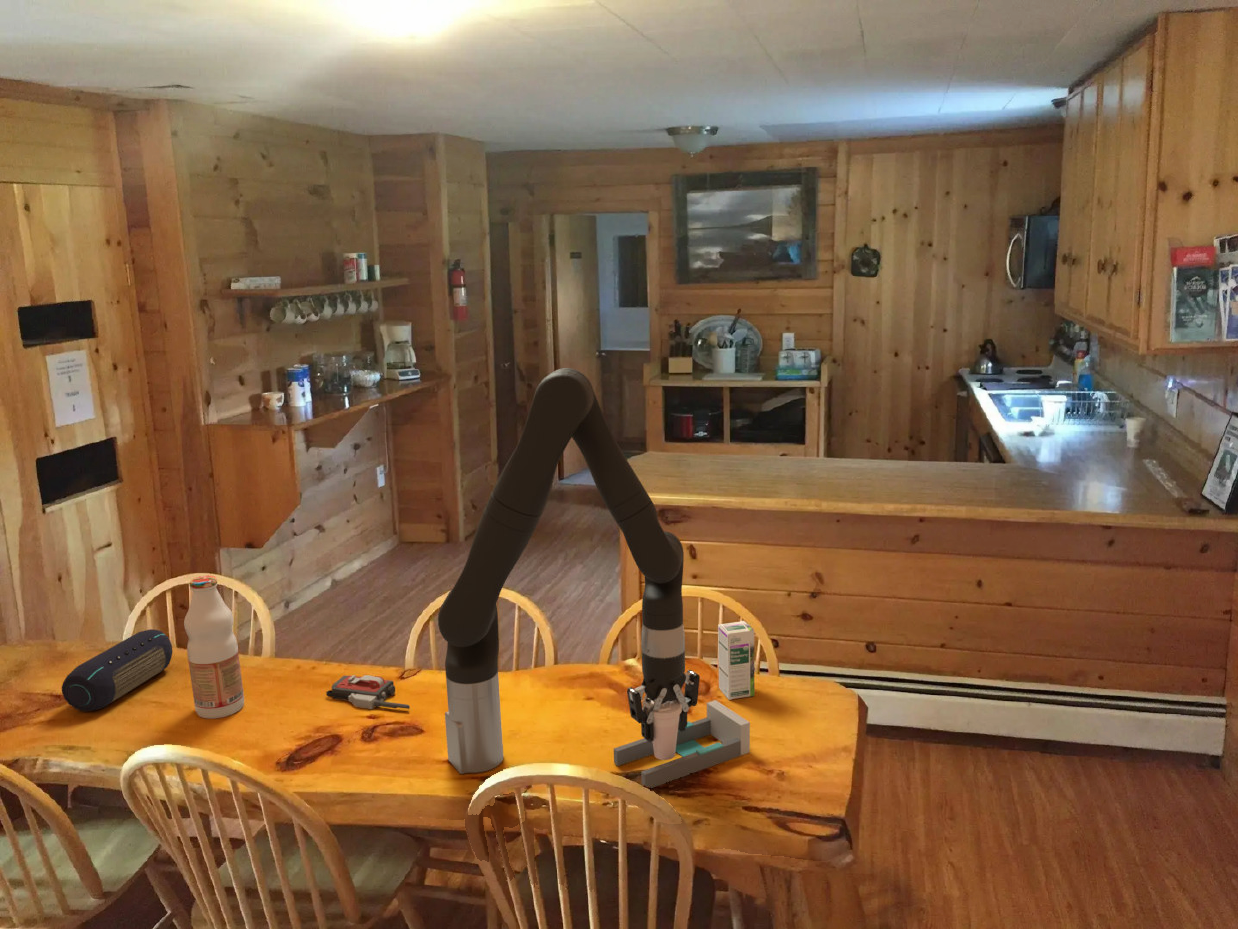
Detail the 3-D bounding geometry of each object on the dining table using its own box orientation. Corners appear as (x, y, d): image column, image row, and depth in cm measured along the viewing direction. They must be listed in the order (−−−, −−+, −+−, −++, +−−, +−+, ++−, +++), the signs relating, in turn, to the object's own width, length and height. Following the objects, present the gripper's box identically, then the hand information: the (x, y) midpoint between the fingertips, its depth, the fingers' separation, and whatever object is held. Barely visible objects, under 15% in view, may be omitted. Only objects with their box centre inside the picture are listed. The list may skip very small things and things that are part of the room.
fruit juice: (194, 723, 199) (176, 590, 192) (196, 703, 207) (178, 575, 201) (245, 714, 202) (228, 583, 195) (244, 694, 210) (228, 568, 204)
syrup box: (728, 700, 202) (728, 633, 198) (717, 688, 207) (717, 622, 204) (754, 696, 203) (755, 630, 200) (743, 684, 209) (743, 619, 205)
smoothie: (640, 759, 177) (638, 686, 174) (656, 742, 183) (654, 671, 179) (673, 767, 174) (671, 693, 171) (688, 750, 180) (687, 678, 176)
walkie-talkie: (320, 704, 206) (407, 716, 200) (318, 685, 205) (405, 696, 199) (343, 685, 214) (428, 696, 208) (341, 666, 213) (426, 676, 207)
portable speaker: (100, 720, 201) (93, 674, 199) (59, 715, 204) (51, 670, 201) (184, 667, 225) (178, 625, 222) (146, 663, 227) (140, 622, 225)
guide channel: (645, 790, 171) (644, 759, 170) (613, 763, 180) (612, 733, 179) (749, 752, 182) (750, 722, 181) (715, 728, 191) (715, 699, 190)
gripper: (639, 665, 167) (641, 755, 171) (709, 644, 174) (710, 732, 178) (616, 649, 173) (619, 737, 177) (685, 630, 180) (686, 715, 184)
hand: (664, 734), depth 178 cm, fingers closed on smoothie, 6 cm apart
